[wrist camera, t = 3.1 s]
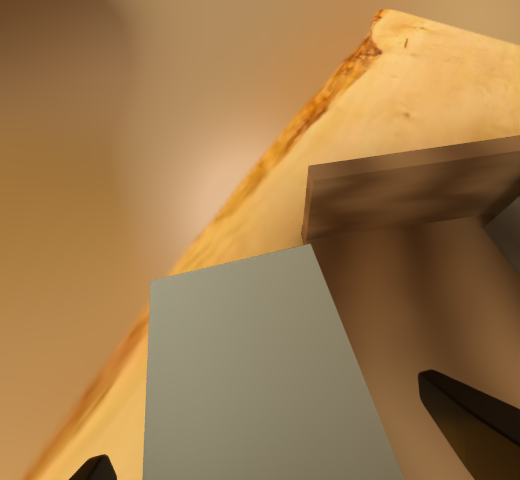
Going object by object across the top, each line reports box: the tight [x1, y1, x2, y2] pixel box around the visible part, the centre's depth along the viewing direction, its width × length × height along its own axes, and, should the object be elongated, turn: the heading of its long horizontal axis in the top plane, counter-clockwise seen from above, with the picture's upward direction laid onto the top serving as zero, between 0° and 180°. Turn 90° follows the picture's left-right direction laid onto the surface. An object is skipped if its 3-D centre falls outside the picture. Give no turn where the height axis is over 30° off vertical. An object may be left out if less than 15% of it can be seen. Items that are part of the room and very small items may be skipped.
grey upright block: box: [143, 244, 404, 480], centre depth 10 cm, size 5×6×11 cm
